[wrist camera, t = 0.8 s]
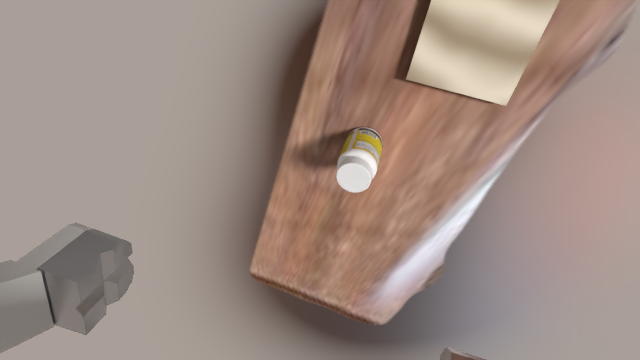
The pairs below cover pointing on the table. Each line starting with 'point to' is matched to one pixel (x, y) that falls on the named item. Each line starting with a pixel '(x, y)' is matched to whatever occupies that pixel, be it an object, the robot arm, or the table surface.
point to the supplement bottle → (359, 159)
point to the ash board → (478, 45)
